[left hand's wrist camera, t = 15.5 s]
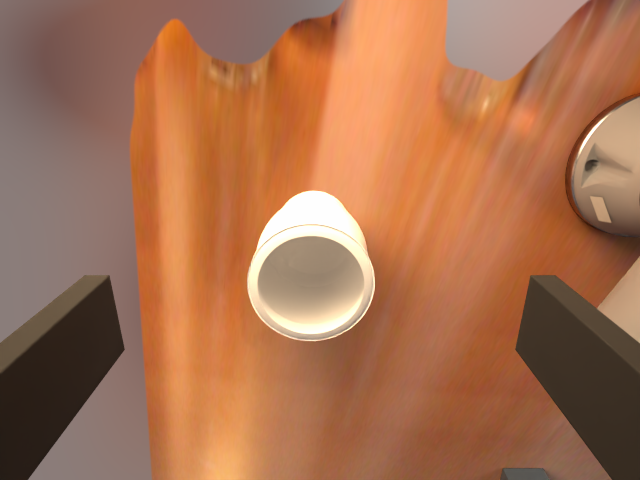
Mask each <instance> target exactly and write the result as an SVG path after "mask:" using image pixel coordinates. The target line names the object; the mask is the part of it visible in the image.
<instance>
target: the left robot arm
mask: <svg viewBox="0 0 640 480" xmlns="http://www.w3.org/2000/svg"><path fill="white" fill-rule="evenodd" d="M565 185H566V192H567V196H568V199H569V202H570V204H571V206H572V208H573V209H574V211H575V212H576V213H577V215H578V216H579V217H580V218H581V219H582V220H584V221H585V222H586V223H588V224H590V225H591V226H593V227H595V228H597V229H599V230H601V231H604V232H606V233H609V234H614V235H618V236H624V237H640V93H638V94H634V95H631V96H629V97H626V98H624V99H622V100H620V101H618V102H616V103H614V104H613V105H611V106H609V107H608V108H607V109H605V110H604V111H602V112H601V113H600V114H599V115H598V116H597V117H595V118H594V119H593V120H592V121H591V122H590V124H589V125H588V126H587V127H586V128H585V129H584V131H583V132H582V133H581V135H580V136H579V138H578V140H577V141H576V143H575V145H574V147H573V149H572V151H571V154H570V157H569V160H568V163H567V168H566V175H565ZM515 350H516V351H517V352H518V354H519V355H520V356H521V358H522V359H523V360H524V362H525V363H526V365H527V366H528V367H529V369H530V370H531V371H532V373H533V374H534V375H535V377H536V378H537V379H538V381H539V382H540V383H541V385H542V386H543V387H544V389H545V390H546V391H547V393H548V394H549V395H550V397H551V398H552V399H553V401H554V402H555V403H556V405H557V406H558V408H559V409H560V410H561V412H562V413H563V414H564V416H565V417H566V418H567V420H568V421H569V422H570V424H571V425H572V426H573V428H574V429H575V430H576V432H577V433H578V434H579V436H580V437H581V438H582V440H583V441H584V442H585V444H586V445H587V446H588V448H589V449H590V450H591V452H592V453H593V455H594V456H595V457H596V459H597V460H598V461H599V463H600V464H601V465H602V467H603V468H604V469H605V471H606V472H607V473H608V475H609V476H610V477H611V479H612V480H640V257H639V258H638V259H637V260H636V262H635V263H634V264H633V265H632V267H631V268H630V269H629V270H628V272H627V273H626V274H625V275H624V276H623V278H622V279H621V280H620V281H619V282H618V284H617V285H616V286H615V287H614V288H613V290H612V291H611V292H610V293H609V294H608V296H607V297H606V298H605V299H604V300H603V302H602V303H601V304H600V305H599V306H598V308H595V307H594V306H593V305H592V304H590V303H589V302H588V301H587V300H585V299H584V298H583V297H582V296H580V295H579V294H578V293H577V292H575V291H574V290H573V289H572V288H570V287H569V286H568V285H567V284H565V283H564V282H563V281H562V280H560V279H559V278H558V277H557V276H555V275H531V276H530V281H529V286H528V291H527V296H526V300H525V305H524V310H523V315H522V320H521V325H520V330H519V334H518V339H517V344H516V349H515ZM123 351H124V344H123V339H122V334H121V330H120V325H119V320H118V315H117V310H116V305H115V300H114V296H113V291H112V286H111V281H110V276H109V275H85V276H83V277H82V278H81V279H80V280H78V281H77V282H76V283H75V284H73V285H72V286H71V287H70V288H68V289H67V290H66V291H65V292H63V293H62V294H61V295H60V296H58V297H57V298H56V299H55V300H53V301H52V302H51V303H50V304H48V305H47V306H46V307H45V308H44V309H42V310H41V311H40V312H38V313H37V314H36V315H35V316H33V317H32V318H31V319H30V320H28V321H27V322H26V323H25V324H23V325H22V326H21V327H20V328H18V329H17V330H16V331H15V332H13V333H12V334H11V335H10V336H9V337H7V338H6V339H5V340H3V341H2V342H1V343H0V480H28V479H29V477H30V476H31V475H32V473H33V472H34V471H35V469H36V468H37V467H38V465H39V464H40V462H41V461H42V460H43V459H44V457H45V456H46V455H47V453H48V452H49V450H50V449H51V448H52V446H53V445H54V444H55V442H56V441H57V440H58V438H59V437H60V436H61V434H62V433H63V432H64V430H65V429H66V428H67V426H68V425H69V424H70V422H71V421H72V420H73V418H74V417H75V416H76V414H77V413H78V412H79V410H80V409H81V407H82V406H83V405H84V403H85V402H86V401H87V399H88V398H89V397H90V395H91V394H92V393H93V391H94V390H95V389H96V387H97V386H98V385H99V383H100V382H101V381H102V379H103V378H104V377H105V375H106V374H107V373H108V371H109V370H110V368H111V367H112V366H113V365H114V363H115V362H116V360H117V359H118V358H119V356H120V355H121V354H122V352H123Z"/></svg>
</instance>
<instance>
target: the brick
mask: <svg viewBox="0 0 640 480" xmlns="http://www.w3.org/2000/svg"><path fill="white" fill-rule="evenodd" d="M500 480H549V478H548V476H547V475H546V473H545V471H544V469H543V468H503V470H502V474H501V479H500Z"/></svg>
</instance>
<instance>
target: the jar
mask: <svg viewBox="0 0 640 480" xmlns="http://www.w3.org/2000/svg"><path fill="white" fill-rule="evenodd" d="M247 288H248V294H249V298H250V301H251V304H252V306H253V308H254V310H255V311H256V313H257V314H258V316H259V317H260V318H261V319H262V320H263V322H264V323H266V324H267V325H268V326H269V327H270V328H272V329H273V330H275V331H276V332H278V333H280V334H282V335H284V336H287V337H289V338H293V339H297V340H303V341H318V340H325V339H329V338H332V337H335V336H338V335H340V334H342V333H344V332H346V331H347V330H349V329H350V328H352V327H353V326H354V325H355V324H356V323H357V322H358V321H359V320H360V319H361V318H362V317H363V316H364V314H365V313H366V311H367V309H368V308H369V306H370V303H371V301H372V298H373V294H374V288H375V276H374V270H373V267H372V263H371V261H370V258H369V256H368V250H367V245H366V241H365V238H364V235H363V233H362V231H361V229H360V227H359V225H358V224H357V222H356V221H355V220H354V218H353V217H352V216H351V215H350V214H349V213H348V212H347V211H346V209H345V208H344V206H343V205H342V204H341V202H340V201H338V200H337V199H336V198H335V197H333V196H331V195H329V194H327V193H324V192H319V191H308V192H303V193H300V194H298V195H296V196H294V197H293V198H291V199H290V200H289V201H288V202H287V203H286V204H285V205H284V207H283V208H282V209H281V210H280V211H278V212H277V213H276V214H275V215H274V216H273V217H272V219H271V220H270V221H269V222H268V224H267V225H266V227H265V229H264V231H263V232H262V235H261V237H260V240H259V243H258V246H257V251H256V253H255V255H254V256H253V259H252V261H251V264H250V267H249V271H248V277H247Z"/></svg>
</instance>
